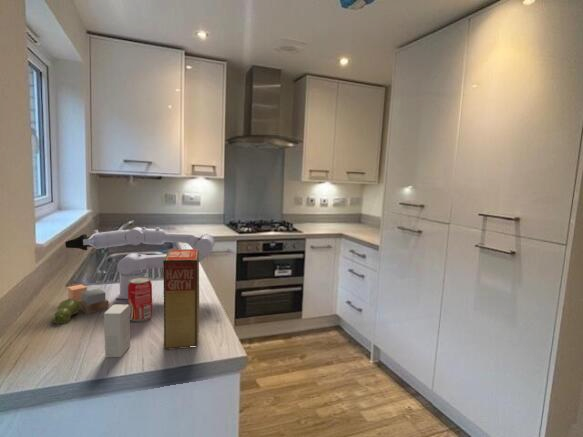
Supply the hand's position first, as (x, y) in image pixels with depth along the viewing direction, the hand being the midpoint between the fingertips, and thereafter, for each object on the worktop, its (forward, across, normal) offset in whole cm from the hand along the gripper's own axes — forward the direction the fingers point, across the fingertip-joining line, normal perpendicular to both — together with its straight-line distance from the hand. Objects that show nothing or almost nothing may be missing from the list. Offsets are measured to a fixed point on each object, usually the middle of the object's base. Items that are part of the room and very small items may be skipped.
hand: (71, 244), depth 125 cm
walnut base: (-8, +8, +23) cm, 26 cm away
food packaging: (-41, +29, +32) cm, 60 cm away
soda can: (-26, +16, +27) cm, 41 cm away
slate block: (-9, +9, +20) cm, 24 cm away
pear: (-4, +16, +24) cm, 29 cm away
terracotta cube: (0, 0, +20) cm, 20 cm away
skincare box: (-26, +37, +30) cm, 55 cm away
